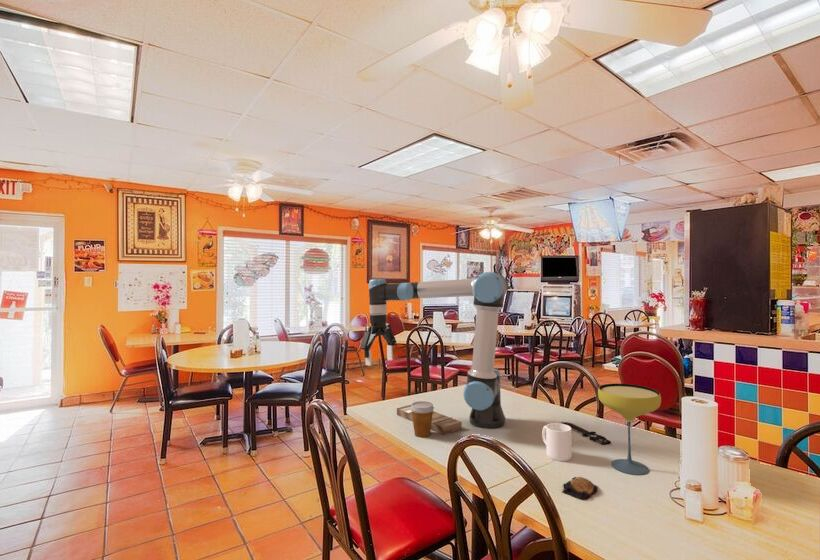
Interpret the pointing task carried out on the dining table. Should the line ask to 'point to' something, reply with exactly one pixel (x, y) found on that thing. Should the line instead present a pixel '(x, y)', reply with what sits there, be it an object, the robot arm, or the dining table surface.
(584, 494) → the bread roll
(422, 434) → the disposable coffee cup
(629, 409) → the cocktail glass
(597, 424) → the dining table surface
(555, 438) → the cup
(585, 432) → the knife
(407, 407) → the walnut board
